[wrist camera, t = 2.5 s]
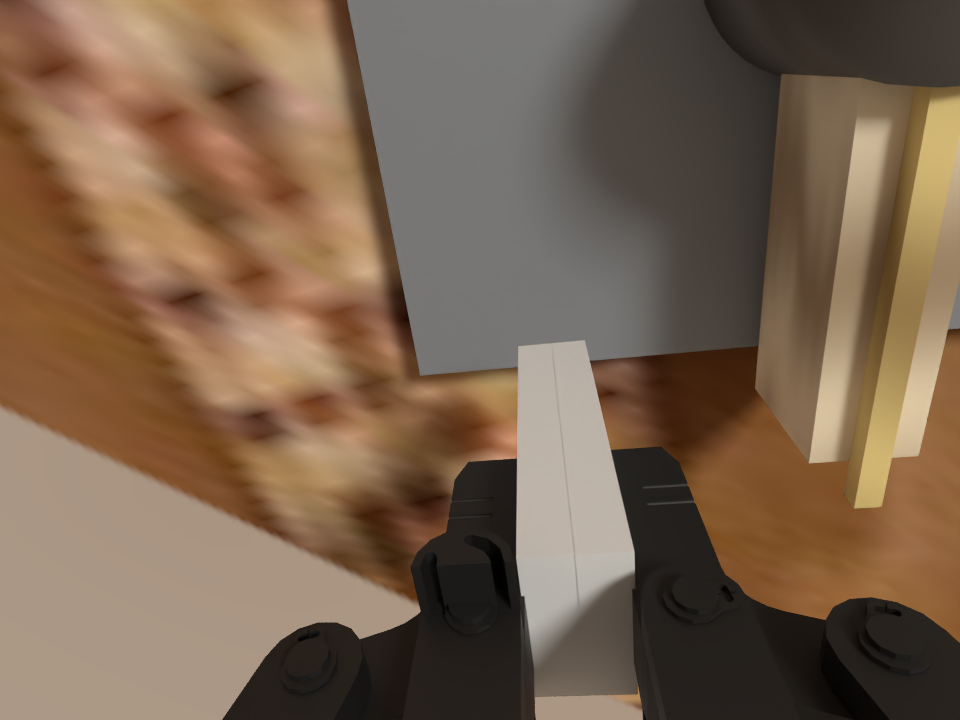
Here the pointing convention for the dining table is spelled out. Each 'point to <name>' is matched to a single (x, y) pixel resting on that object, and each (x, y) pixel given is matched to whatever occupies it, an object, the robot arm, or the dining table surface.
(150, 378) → the dining table surface
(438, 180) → the gauge board
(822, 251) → the dial lever
